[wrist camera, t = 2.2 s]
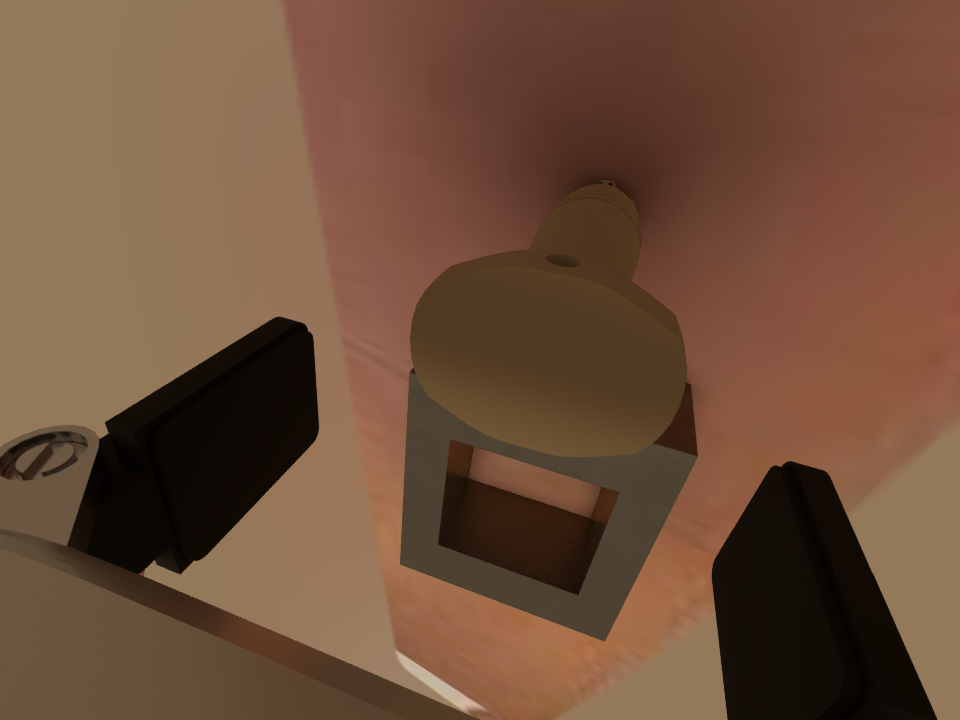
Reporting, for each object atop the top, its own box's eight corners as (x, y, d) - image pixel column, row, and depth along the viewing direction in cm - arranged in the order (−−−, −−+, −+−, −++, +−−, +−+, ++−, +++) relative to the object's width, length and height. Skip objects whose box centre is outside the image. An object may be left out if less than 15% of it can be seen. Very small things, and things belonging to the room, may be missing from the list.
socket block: (451, 321, 29) (409, 372, 24) (690, 384, 27) (697, 456, 22) (433, 500, 38) (400, 564, 33) (612, 561, 35) (604, 641, 30)
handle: (545, 148, 23) (412, 242, 11) (685, 171, 22) (719, 308, 9) (529, 247, 26) (408, 413, 13) (653, 273, 24) (647, 483, 12)
